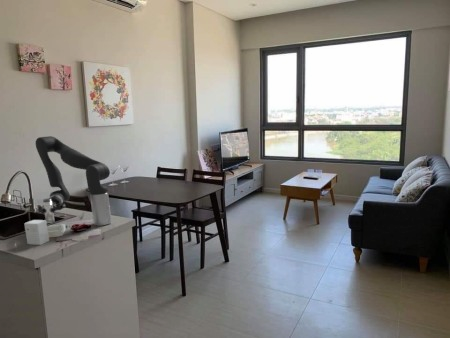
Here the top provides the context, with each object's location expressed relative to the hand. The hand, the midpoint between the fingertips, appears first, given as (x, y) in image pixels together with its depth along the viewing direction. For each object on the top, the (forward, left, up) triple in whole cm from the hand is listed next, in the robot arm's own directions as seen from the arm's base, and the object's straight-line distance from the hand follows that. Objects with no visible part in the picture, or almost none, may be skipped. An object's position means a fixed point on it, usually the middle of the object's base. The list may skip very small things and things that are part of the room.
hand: (47, 211), depth 172 cm
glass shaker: (0, -3, -7) cm, 7 cm away
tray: (0, -3, -13) cm, 13 cm away
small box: (+4, +9, -13) cm, 16 cm away
